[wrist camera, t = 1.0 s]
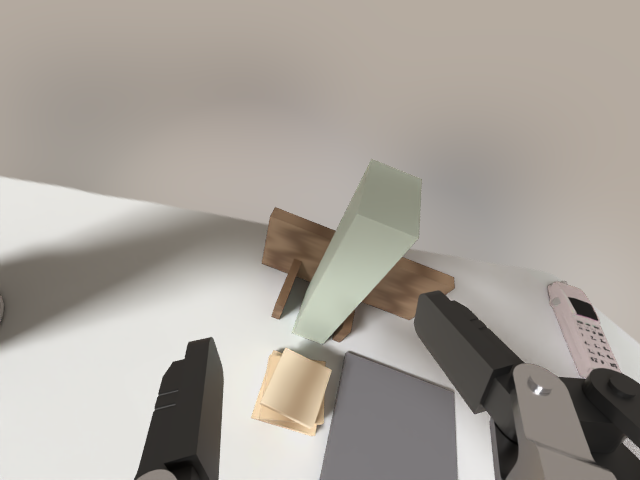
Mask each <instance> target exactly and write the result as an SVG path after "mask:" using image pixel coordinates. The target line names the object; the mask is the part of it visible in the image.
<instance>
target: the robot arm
mask: <svg viewBox="0 0 640 480" xmlns="http://www.w3.org/2000/svg"><path fill="white" fill-rule="evenodd" d="M3 313H4V303H3V299H2V297H1V295H0V322H1V319H2V316H3ZM414 326H415V330H416V333H417V335H418V336H419V338H420V339H421V341H422V342H423V343H424V345H425V346H426V348H427V349H428V350H429V352H430V353H431V355H432V356H433V357H434V359H435V360H436V362H437V363H438V364H439V366H440V367H441V368H442V370H443V371H444V373H445V374H446V375H447V377H448V378H449V380H450V381H451V382H452V384H453V385H454V387H455V388H456V389H457V391H458V392H459V394H460V395H461V396H462V398H463V399H464V401H465V402H466V403H467V405H468V406H469V407H470V409H471V410H472V412H473V413H474V414H477V413H480V412H483V411H487V412H488V414H489V415H490V416H491V418H490V432H491V442H492V452H493V462H494V472H495V480H640V460H639V459H638V458H637V457H636V456H635V455H634V454H633V453H632V452H631V451H630V450H629V449H628V448H627V447H626V446H625V445H624V444H623V443H622V442H623V441H624V440H625V439H626V438H627V437H628V438H629V439H630V440H631V441H632V442H633V443H634V444H635V445H637V446H638V447H639V448H640V384H639V383H637V382H636V381H635V380H633V379H631V378H630V377H628V376H626V375H624V374H622V373H620V372H617V371H614V370H611V369H606V368H596V369H593V370H592V371H591V372H590V374H589V375H588V376H587V378H586V379H580V378H564V377H557V376H556V375H554V374H553V373H552V372H550V371H548V370H547V369H545V368H543V367H540V366H537V365H534V364H528V363H524V362H523V361H522V360H521V359H520V358H519V357H518V356H517V355H516V354H515V353H514V352H513V351H511V350H510V349H509V348H508V347H507V346H506V345H505V344H504V343H503V342H502V341H501V340H500V339H499V338H498V337H497V336H496V335H495V334H494V333H493V332H492V331H491V330H490V329H487V327H486V325H485V324H484V323H483V322H482V321H481V320H478V318H477V317H476V316H475V315H474V314H473V313H472V312H471V311H470V310H469V309H468V308H467V307H465V306H463V305H461V304H460V303H458V302H456V301H450V300H449V299H448V298H447V296H446V295H445V294H444V293H442V292H441V291H439V290H437V291H432V292H427V293H423V294H420V295H419V297H418V303H417V308H416V314H415V319H414ZM223 384H224V379H223V369H222V364H221V361H220V358H219V355H218V352H217V348H216V345H215V342H214V339H213V338H212V337H210V338H205V339H200V340H196V341H191V342H189V343H188V345H187V350H186V355H185V359H183V360H179V361H174V362H173V363H172V364H171V366H170V367H169V369H168V370H167V372H166V373H165V375H164V376H163V378H162V382H161V385H160V389H159V393H158V395H159V396H158V397H157V401H156V404H155V411H154V412H153V416H152V420H151V423H150V427H149V431H148V435H147V438H146V442H145V446H144V450H143V454H142V457H141V461H140V465H139V468H138V471H137V474H136V476H135V478H134V480H218V477H219V459H220V440H221V421H222V403H223Z"/></svg>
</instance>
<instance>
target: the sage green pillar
mask: <svg viewBox="0 0 640 480" xmlns="http://www.w3.org/2000/svg"><path fill="white" fill-rule="evenodd" d="M421 184H422V179H420V178H417V177H415V176H412V175H410V174H407V173H405V172H403V171H400V170H397V169H395V168H393V167H390V166H387V165H385V164H383V163H380V162H378V161H375V160H373V159H372V160H371V161H370V163H369V165H368V167H367V169H366V171H365V173H364V175H363V177H362V179H361V181H360V183H359V185H358V187H357V189H356V191H355V193H354V195H353V197H352V199H351V201H350V203H349V205H348V208H347V209H346V212H345V214H344V216H343V218H342V220H341V222H340V224H339V226H338V228H337V230H336V232H335V234H334V236H333V238H332V240H331V242H330V244H329V246H328V248H327V250H326V252H325V254H324V256H323V258H322V260H321V262H320V264H319V266H318V268H317V270H316V272H315V274H314V276H313V278H312V280H311V282H310V284H309V286H308V288H307V290H306V293H305V296H304V299H303V302H302V304H301V307H300V310H299V313H298V316H297V319H296V322H295V325H294V328H293V330H292V333H293V334H296V335H298V336H301V337H304V338H306V339H309V340H311V341H314V342H317V343H319V344H322V345H323V343H324V342H325V341H326V340H327V339H328V338H329V337H330V336H331V335H332V334H333V332H334V331H335V330H336V329H337V328H338V327H339V326H340V325H341V324H342V323H343V321H344V320H345V319H346V318H347V317H348V316H349V315H350V314H351V313H352V312H353V310H354V309H355V308H356V307H357V306H358V305H359V304H360V303H361V302H362V301H363V299H364V298H365V297H366V296H367V295H368V294H369V293H370V292H371V291H372V290H373V288H374V287H375V286H376V285H377V284H378V283H379V282H380V281H381V280H382V278H383V277H384V276H385V275H386V274H387V273H388V272H389V271H390V270H391V269H392V267H393V266H394V265H395V264H396V263H397V262H398V261H399V260H400V259H401V258H402V256H403V255H404V254H405V253H406V252H407V251H408V250H409V249H410V248H411V247H412V245H413V244H414V243H415V242H416V241H417V240H418V239H419V227H420V206H421Z"/></svg>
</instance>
